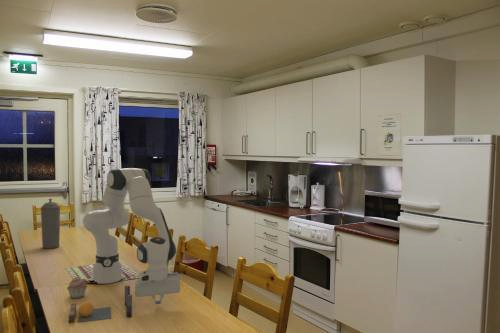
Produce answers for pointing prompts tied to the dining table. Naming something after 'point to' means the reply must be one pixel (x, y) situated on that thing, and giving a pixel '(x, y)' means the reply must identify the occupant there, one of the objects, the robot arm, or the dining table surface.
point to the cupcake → (77, 287)
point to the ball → (85, 309)
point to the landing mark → (97, 315)
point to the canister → (50, 224)
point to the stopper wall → (72, 313)
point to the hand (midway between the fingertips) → (157, 303)
